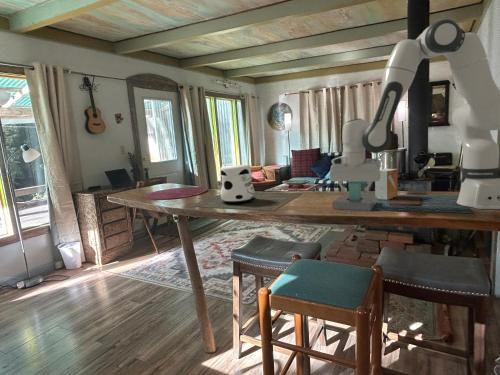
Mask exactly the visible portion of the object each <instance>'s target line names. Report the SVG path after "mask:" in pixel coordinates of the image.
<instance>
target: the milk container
mask: <svg viewBox="0 0 500 375" xmlns="http://www.w3.org/2000/svg"><path fill="white" fill-rule="evenodd" d="M219 172H220V183H221V186H220V192H219V193H220V198H221V200H222V201H223V202H224V203H229V204H240V203H246V202H250V201H251V200H253V199H254V197H255V188H254V185H253V181H252V180H253V179H252V177H253V176H252V167H251V165H250V164H235V165H226V166H221V167H220V168H219Z"/></svg>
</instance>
